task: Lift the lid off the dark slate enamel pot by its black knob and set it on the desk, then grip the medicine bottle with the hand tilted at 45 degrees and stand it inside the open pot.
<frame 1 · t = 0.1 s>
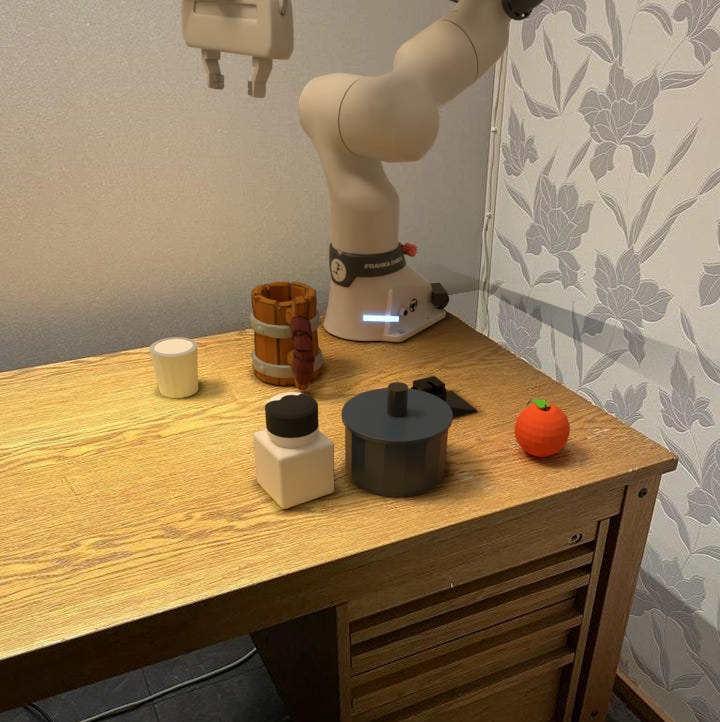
hand: (235, 93, 105), 39 cm above the table, tool pointing down, fingers open, 8 cm apart
medicine bottle: (295, 488, 97), on the table
black wedge: (427, 412, 113), on the table
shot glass: (179, 390, 119), on the table
enamel pot: (395, 469, 101), on the table
clementine: (536, 452, 104), on the table
pot lid: (396, 417, 96), point 7 cm above the table, touching enamel pot
mug: (292, 379, 122), on the table
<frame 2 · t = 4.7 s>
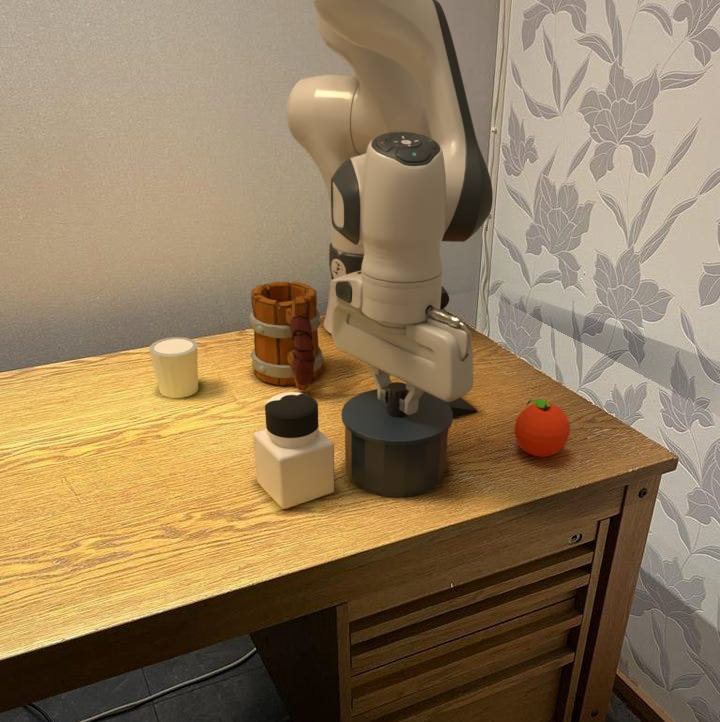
hand: (397, 405, 96), 9 cm above the table, tool pointing down, fingers closed on pot lid, 2 cm apart
pot lid: (396, 417, 96), point 8 cm above the table, touching enamel pot, gripper
everything else where it was.
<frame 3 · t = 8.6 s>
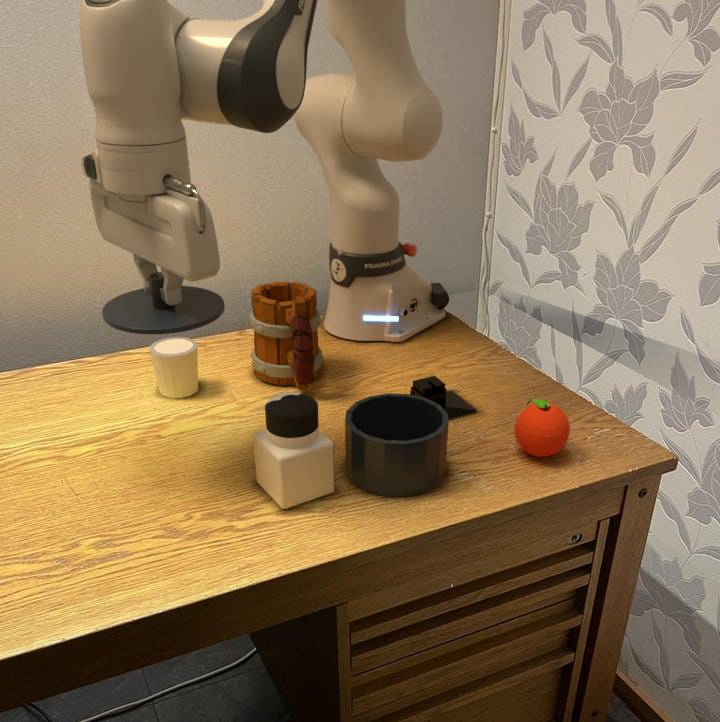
hand: (163, 298, 89), 22 cm above the table, tool pointing down, fingers closed on pot lid, 2 cm apart
pot lid: (164, 311, 90), point 21 cm above the table, touching gripper
everything else where it was.
when the fingers open (2 cm above the table, at t = 13.0 s): pot lid stays where it is, point 1 cm above the table.
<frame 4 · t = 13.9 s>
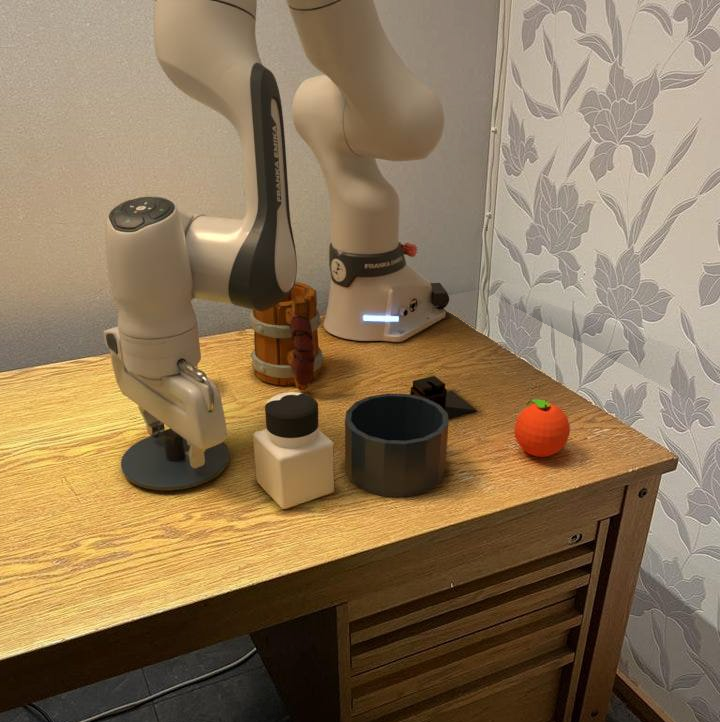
hand: (175, 449, 100), 2 cm above the table, tool pointing down, fingers open, 8 cm apart
pot lid: (176, 460, 101), point 1 cm above the table
everything else where it was.
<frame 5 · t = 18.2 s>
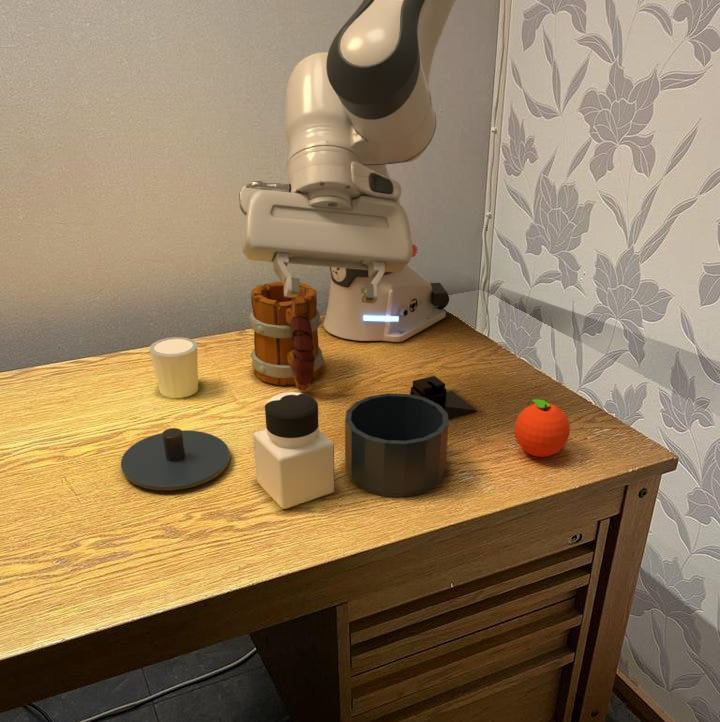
hand: (331, 298, 93), 21 cm above the table, tool tilted 45°, fingers open, 8 cm apart
nothing on the table moved.
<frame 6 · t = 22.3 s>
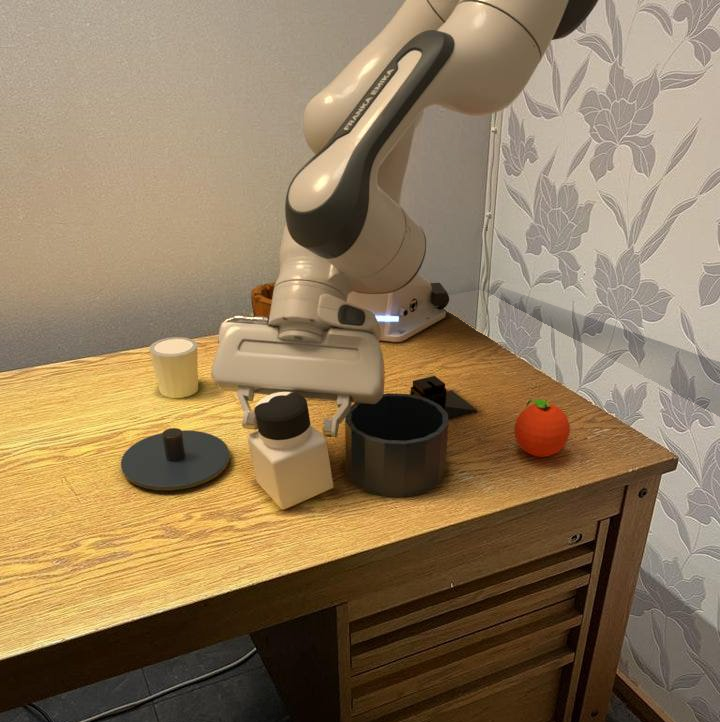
hand: (289, 432, 92), 8 cm above the table, tool tilted 45°
medicine bottle: (295, 486, 97), on the table, touching gripper
everything else where it was.
when the fingers open (9 cm above the table, at t = 31.6 s): medicine bottle stays where it is, resting on enamel pot.
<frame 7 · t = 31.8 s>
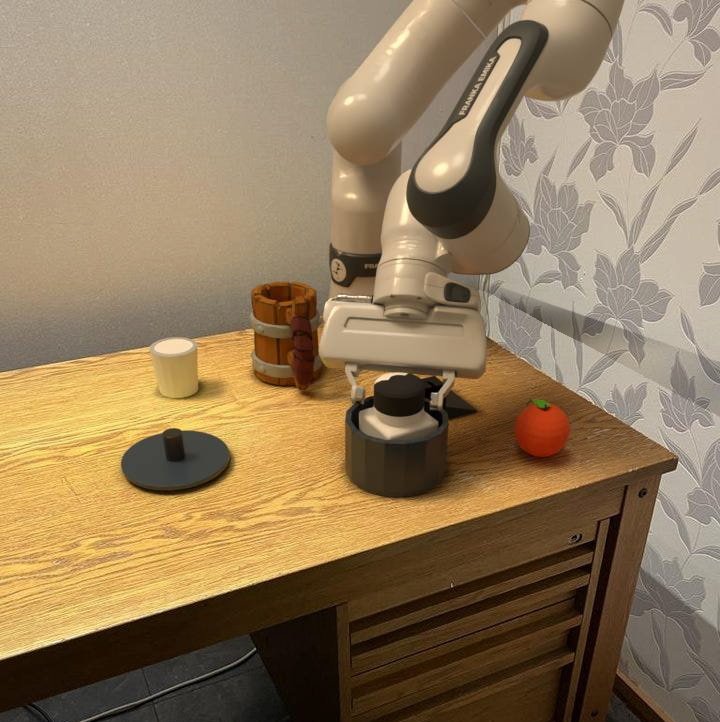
hand: (396, 406, 95), 9 cm above the table, tool tilted 45°, fingers open, 8 cm apart
medicine bottle: (396, 466, 100), resting on enamel pot
everything else where it was.
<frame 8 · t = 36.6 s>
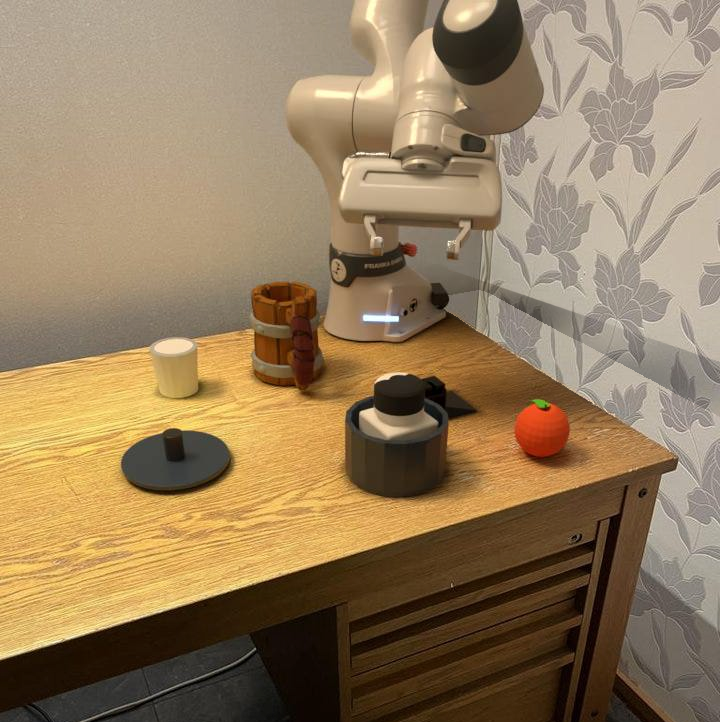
hand: (414, 255, 98), 23 cm above the table, tool tilted 45°, fingers open, 8 cm apart
nothing on the table moved.
at the end: pot lid inside the target area (0.1 cm from its centre), point 0.6 cm above the table; medicine bottle 0.2 cm off-centre in the enamel pot, point 0.3 cm above the enamel pot's base; medicine bottle tilted 0° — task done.
